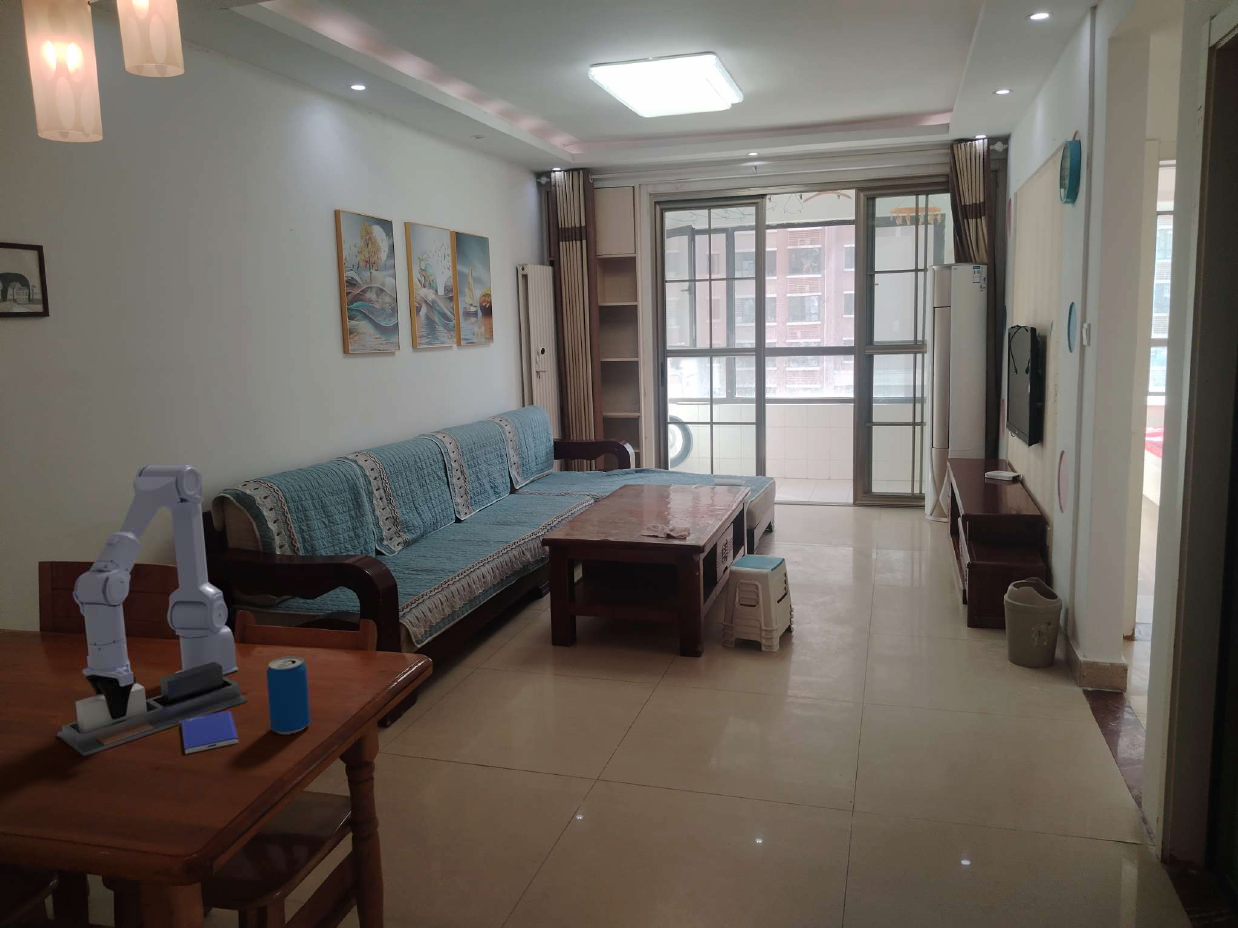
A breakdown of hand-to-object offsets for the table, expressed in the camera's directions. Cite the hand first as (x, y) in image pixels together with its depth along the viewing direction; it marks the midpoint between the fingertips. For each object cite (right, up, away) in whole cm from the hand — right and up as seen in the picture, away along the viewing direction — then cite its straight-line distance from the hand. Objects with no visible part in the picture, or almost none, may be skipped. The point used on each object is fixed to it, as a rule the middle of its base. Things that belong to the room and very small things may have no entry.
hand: (114, 714), depth 157 cm
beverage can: (+30, -3, +1) cm, 31 cm away
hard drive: (+17, -4, -1) cm, 17 cm away
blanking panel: (0, -2, 0) cm, 2 cm away
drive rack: (+4, -2, +6) cm, 7 cm away
